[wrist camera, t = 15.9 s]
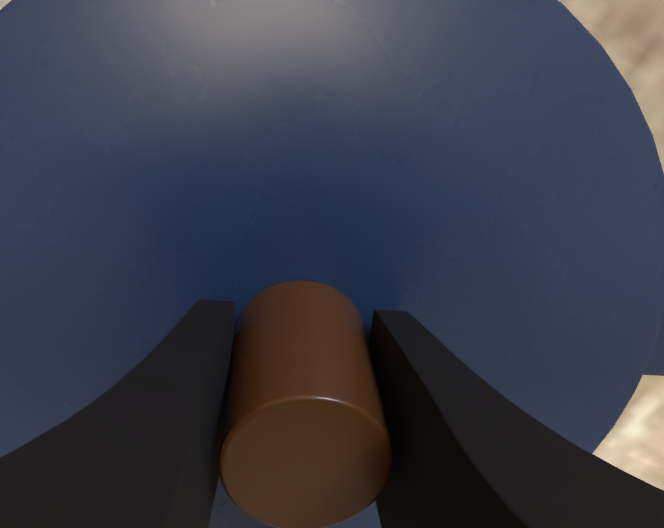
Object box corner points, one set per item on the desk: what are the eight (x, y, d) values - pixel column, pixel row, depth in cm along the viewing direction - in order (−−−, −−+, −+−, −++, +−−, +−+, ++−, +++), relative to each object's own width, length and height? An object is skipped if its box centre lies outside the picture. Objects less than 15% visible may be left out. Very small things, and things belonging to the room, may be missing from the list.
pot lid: (544, 557, 16) (630, 753, 12) (-25, 550, 15) (-142, 772, 11) (752, -35, 10) (1052, -36, 6) (-154, -154, 9) (-520, -257, 5)
